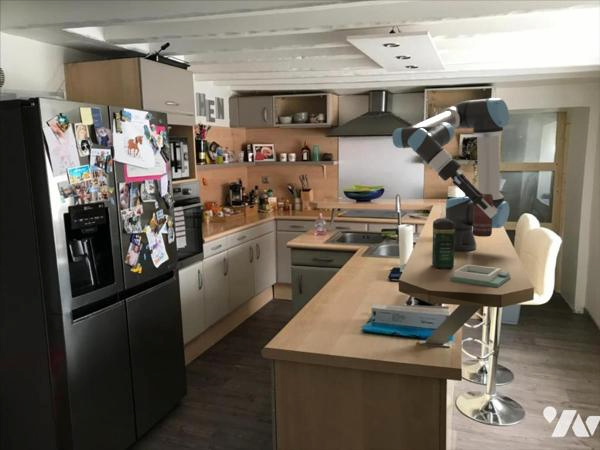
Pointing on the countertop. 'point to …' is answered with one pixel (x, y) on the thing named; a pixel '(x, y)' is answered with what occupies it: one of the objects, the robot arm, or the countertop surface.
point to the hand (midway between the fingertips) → (494, 214)
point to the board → (480, 275)
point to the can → (482, 218)
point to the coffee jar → (443, 243)
